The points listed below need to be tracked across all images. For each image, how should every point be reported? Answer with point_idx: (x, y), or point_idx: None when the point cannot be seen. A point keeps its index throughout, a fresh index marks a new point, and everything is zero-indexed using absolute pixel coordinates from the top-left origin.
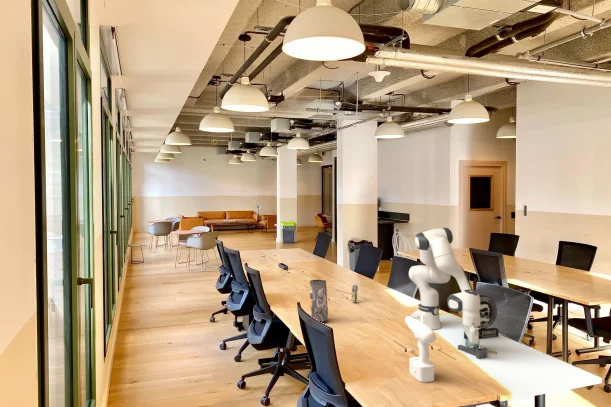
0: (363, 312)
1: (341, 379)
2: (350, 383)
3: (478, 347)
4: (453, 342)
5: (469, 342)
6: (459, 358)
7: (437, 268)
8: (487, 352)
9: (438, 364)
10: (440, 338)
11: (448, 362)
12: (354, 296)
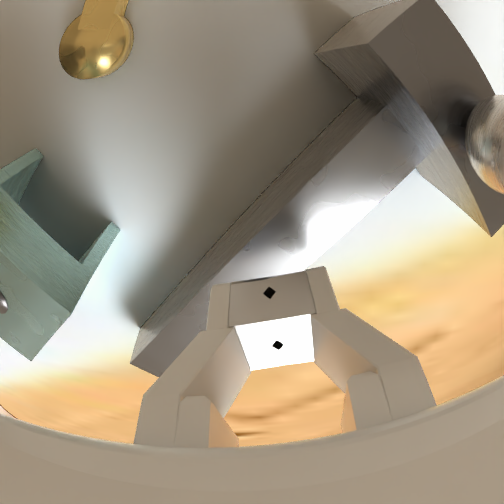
0: None
1: None
2: None
3: (29, 163)
4: (40, 354)
5: (244, 376)
6: (428, 316)
7: None
8: (123, 15)
9: (482, 370)
10: (42, 394)
11: (475, 349)
12: None
